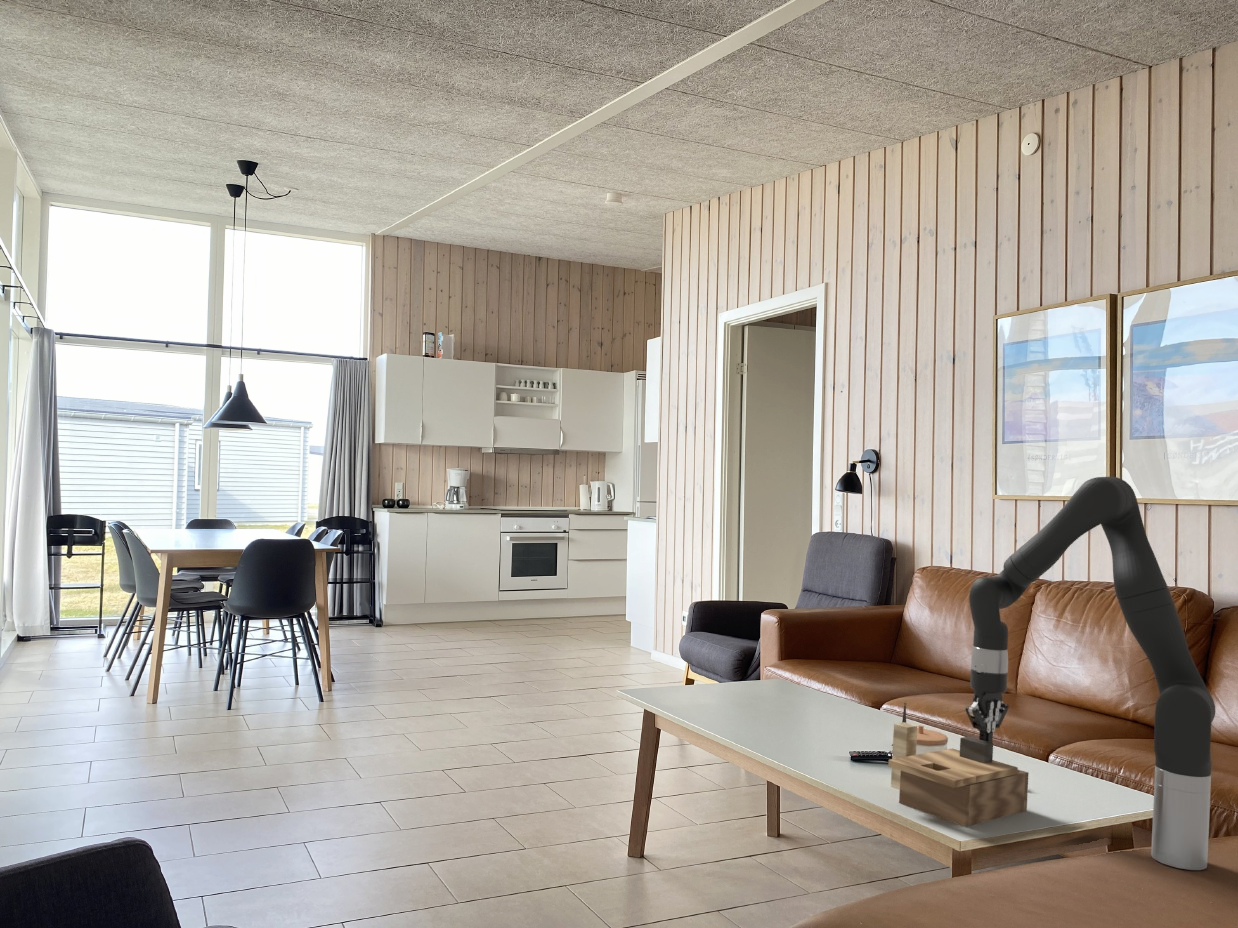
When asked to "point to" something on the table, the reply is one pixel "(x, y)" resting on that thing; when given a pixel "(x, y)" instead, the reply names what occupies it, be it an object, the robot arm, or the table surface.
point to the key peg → (902, 747)
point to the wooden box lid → (956, 764)
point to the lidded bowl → (930, 741)
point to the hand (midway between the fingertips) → (985, 748)
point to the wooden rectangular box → (966, 798)
